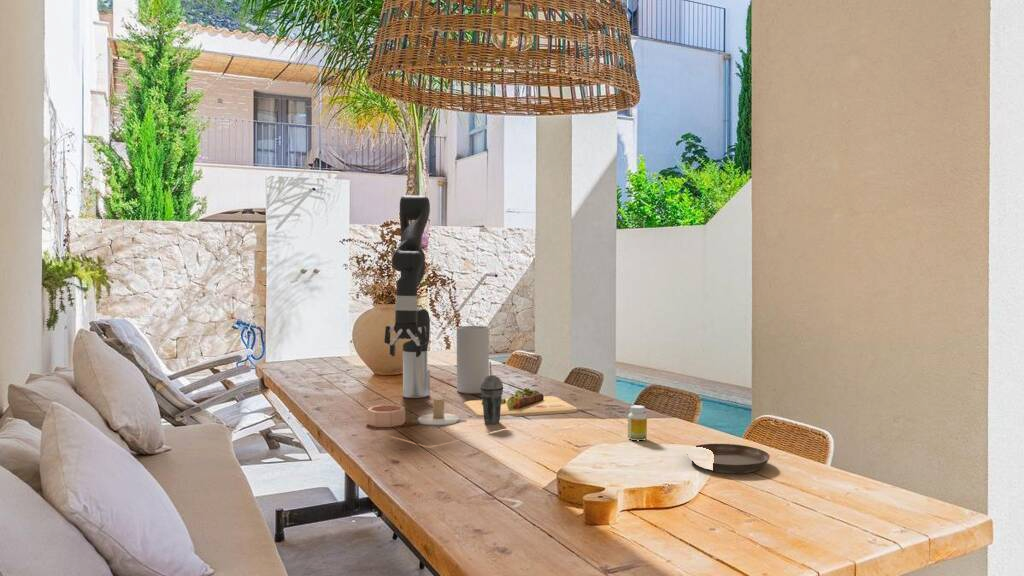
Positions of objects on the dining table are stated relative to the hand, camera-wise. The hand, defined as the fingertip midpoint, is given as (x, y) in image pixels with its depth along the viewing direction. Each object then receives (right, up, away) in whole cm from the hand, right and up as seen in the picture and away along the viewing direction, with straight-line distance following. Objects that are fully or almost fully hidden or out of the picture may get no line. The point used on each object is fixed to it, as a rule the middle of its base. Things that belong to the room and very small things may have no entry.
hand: (405, 356), depth 251 cm
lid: (+13, -19, -17) cm, 29 cm away
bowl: (-3, -19, -20) cm, 28 cm away
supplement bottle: (+73, -21, -38) cm, 85 cm away
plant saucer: (+91, -22, -63) cm, 113 cm away
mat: (+13, -19, -17) cm, 29 cm away
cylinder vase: (+21, -17, +36) cm, 45 cm away
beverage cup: (+30, -20, -20) cm, 41 cm away
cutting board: (+39, -19, +5) cm, 44 cm away
